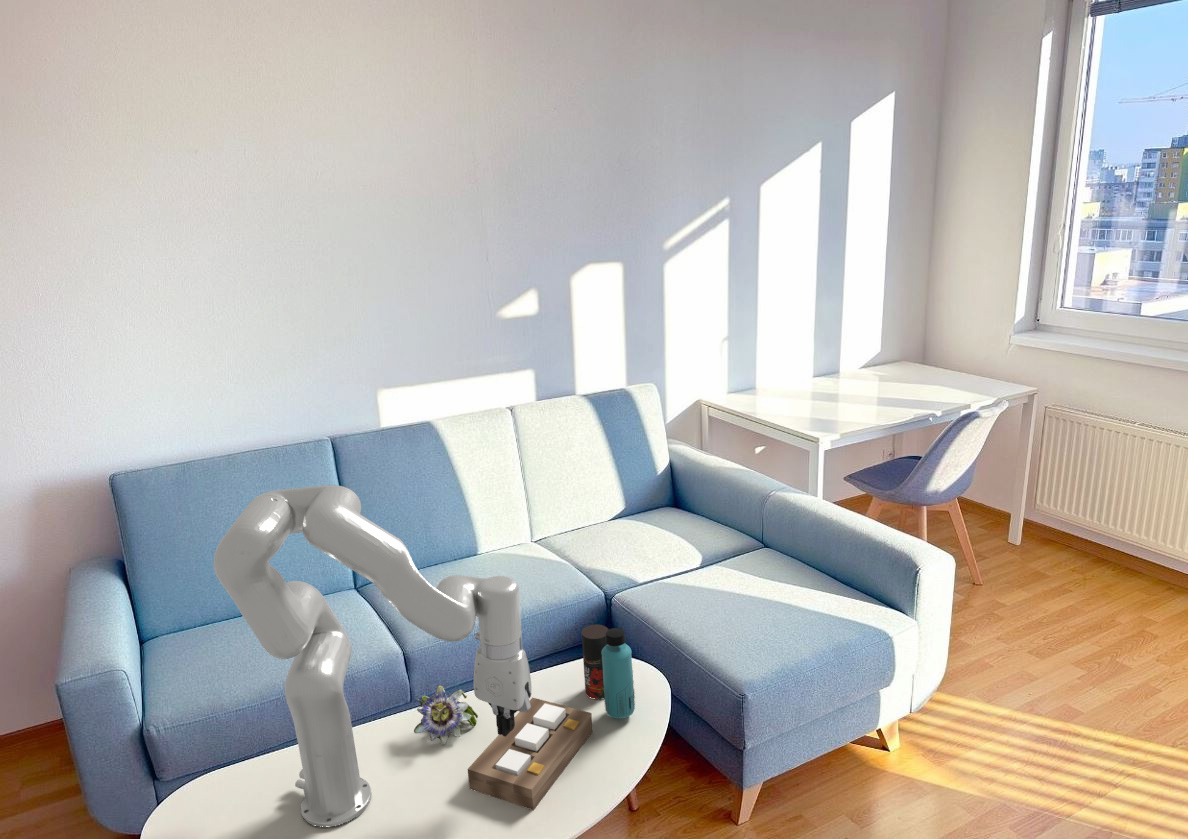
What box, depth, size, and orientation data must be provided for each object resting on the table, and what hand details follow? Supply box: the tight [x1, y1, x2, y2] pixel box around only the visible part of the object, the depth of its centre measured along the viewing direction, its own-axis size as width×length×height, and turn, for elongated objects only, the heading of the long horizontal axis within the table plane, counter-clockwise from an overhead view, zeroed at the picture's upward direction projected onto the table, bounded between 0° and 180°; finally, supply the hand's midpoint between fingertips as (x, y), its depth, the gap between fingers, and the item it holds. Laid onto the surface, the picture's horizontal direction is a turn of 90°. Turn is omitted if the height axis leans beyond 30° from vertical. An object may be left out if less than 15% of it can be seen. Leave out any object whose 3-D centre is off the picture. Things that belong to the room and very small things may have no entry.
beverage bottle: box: [601, 627, 636, 719], centre depth 174 cm, size 6×7×20 cm
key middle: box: [515, 723, 549, 752], centre depth 163 cm, size 5×5×2 cm
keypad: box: [467, 697, 594, 811], centre depth 164 cm, size 14×24×5 cm, turn 153°
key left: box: [496, 749, 531, 777], centre depth 158 cm, size 5×5×2 cm
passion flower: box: [413, 684, 479, 746], centre depth 174 cm, size 11×11×12 cm
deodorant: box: [581, 624, 609, 700], centre depth 183 cm, size 6×6×15 cm
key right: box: [533, 703, 566, 730], centre depth 169 cm, size 5×5×2 cm
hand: (506, 731), depth 155 cm, fingers closed
